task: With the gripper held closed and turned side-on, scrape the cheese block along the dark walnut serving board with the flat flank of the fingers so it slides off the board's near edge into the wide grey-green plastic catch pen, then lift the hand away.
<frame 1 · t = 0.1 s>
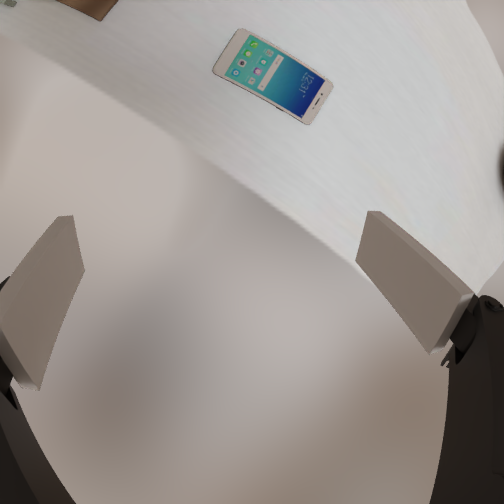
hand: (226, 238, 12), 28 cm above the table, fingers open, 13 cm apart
smartphone: (274, 76, 34), on the table
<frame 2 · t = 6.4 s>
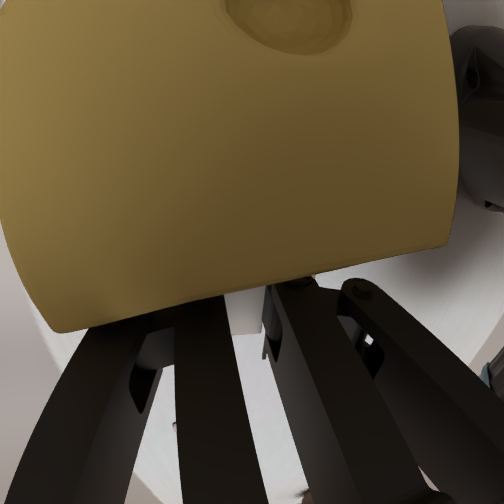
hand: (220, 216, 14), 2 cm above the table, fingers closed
cheese: (213, 87, 13), point 1 cm above the table, touching gripper, hand
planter: (313, 489, 65), on the table
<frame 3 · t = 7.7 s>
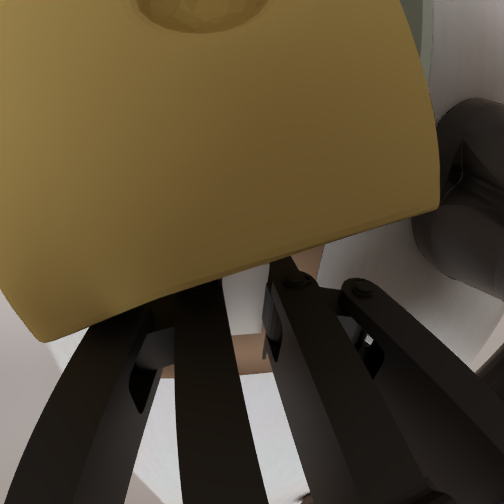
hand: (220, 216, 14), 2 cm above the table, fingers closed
catch pen: (231, 40, 12), on the table
cheese: (190, 91, 12), on the table, touching gripper, hand
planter: (310, 494, 68), on the table
serving board: (215, 298, 20), on the table
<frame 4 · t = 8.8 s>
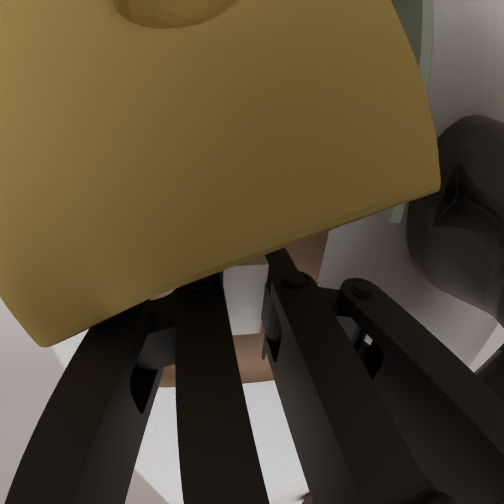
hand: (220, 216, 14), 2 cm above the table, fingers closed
catch pen: (229, 69, 13), on the table
cheese: (185, 92, 12), on the table, touching catch pen, gripper, hand
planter: (312, 493, 69), on the table
serving board: (217, 314, 20), on the table
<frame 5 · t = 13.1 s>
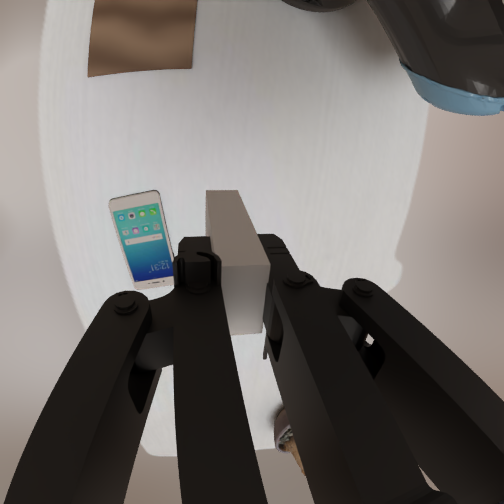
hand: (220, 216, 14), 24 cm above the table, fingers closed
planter: (285, 412, 73), on the table
smartphone: (145, 241, 41), on the table
serving board: (143, 13, 25), on the table
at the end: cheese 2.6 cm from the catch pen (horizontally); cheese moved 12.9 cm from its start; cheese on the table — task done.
